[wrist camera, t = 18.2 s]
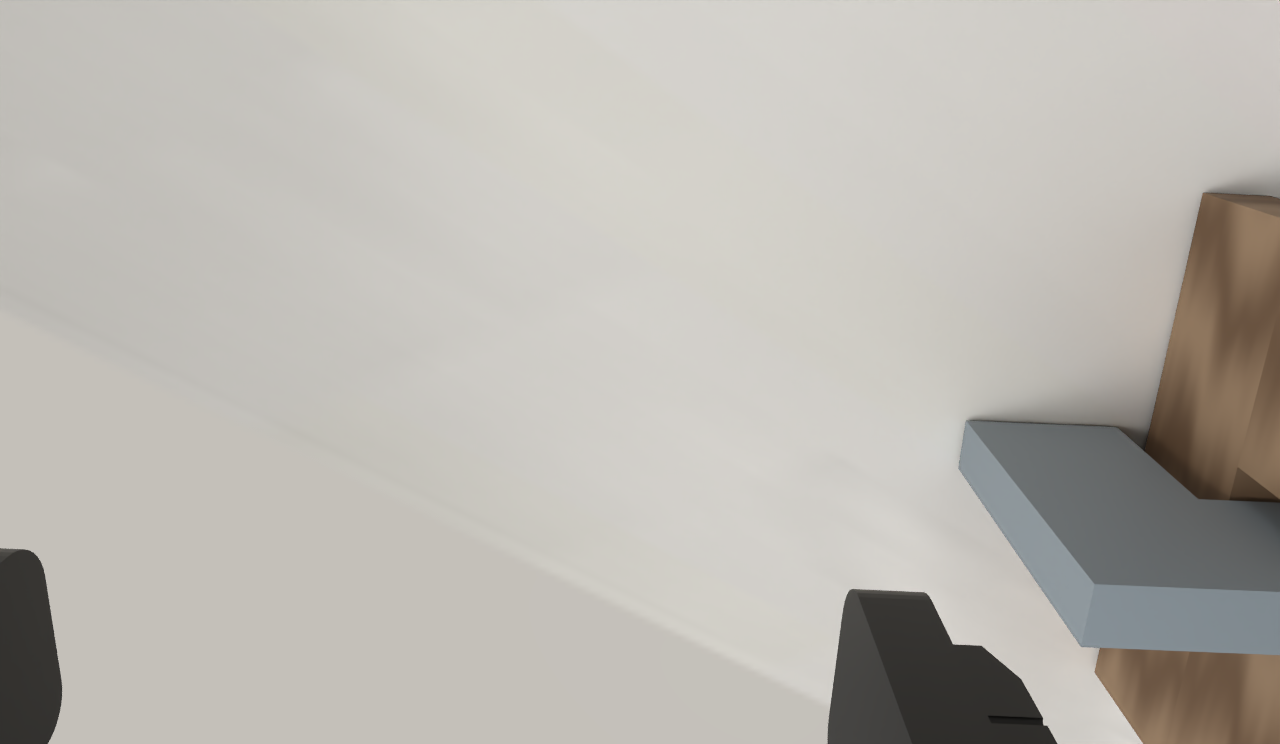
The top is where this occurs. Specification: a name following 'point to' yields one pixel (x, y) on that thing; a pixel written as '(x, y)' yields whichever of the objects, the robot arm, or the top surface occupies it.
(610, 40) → the top surface
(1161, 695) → the walnut board
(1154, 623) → the slate plate
